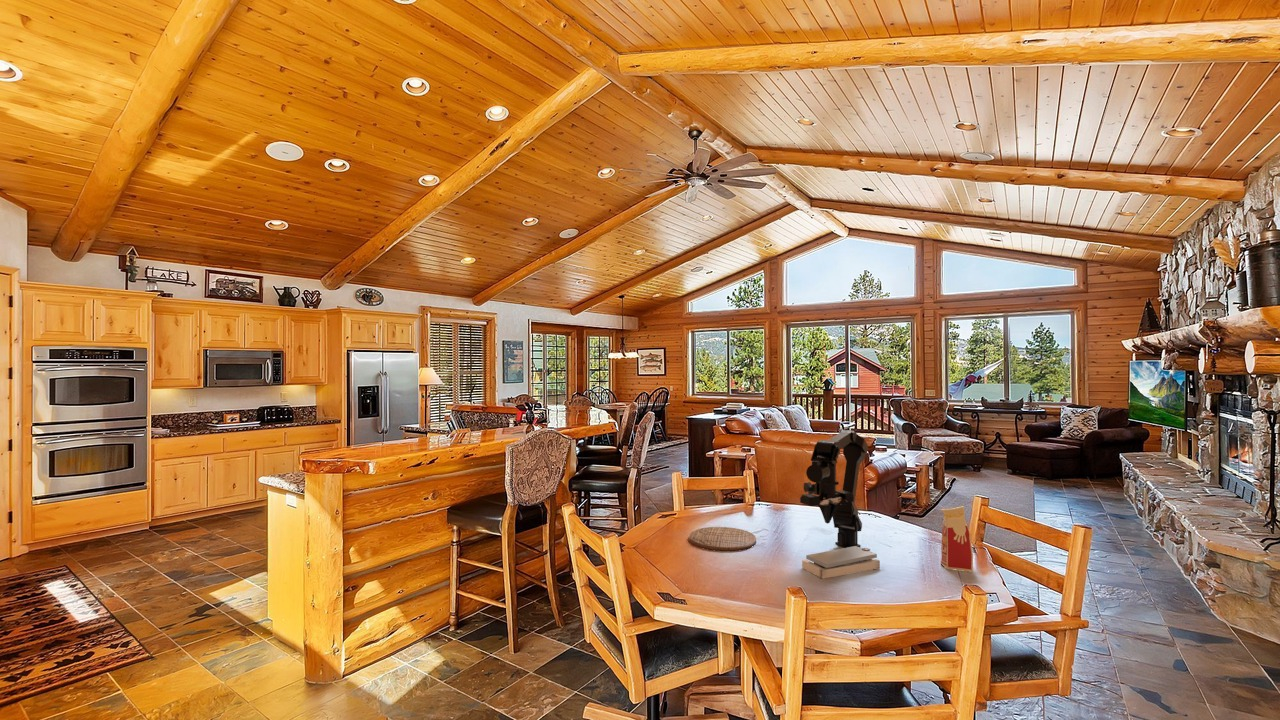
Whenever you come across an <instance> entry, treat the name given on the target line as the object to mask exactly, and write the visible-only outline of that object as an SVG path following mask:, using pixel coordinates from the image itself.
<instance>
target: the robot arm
mask: <svg viewBox="0 0 1280 720" xmlns="http://www.w3.org/2000/svg"><path fill="white" fill-rule="evenodd" d="M813 447H814V448H813V451H812V454H811V458H810V461H811V465H809V466H808V467H807V469H806V471H805V472H806V473H805V474H806V477H807V479H808V480H809V482H803V491H804V492H805V493H804V494H801V496H800V498H799V503H801V504H803V505H806V506H809V507H817V506H818V507H819V509H820V511H821V514H822V517H823V520H824V522H825V523H826V524H827V525H828V524H830V523H831V520H832V522H833V528H835V529H836V528H837V531H838V532H837V541H836V542H834V544H835V545H838V546H839V547H842V548H847V547H853V546H857V547H860V546H861V547H862V545H861V544H859V543H858V541H859V540H858V536H859V535H858V533H859V532H862V528H863V522H862V520H861V518H860V516H859V509H858V508H857V505H856V496H857V487H858V480H859V474H860V473H859V472H860V465H861V464H862V462H863V461H864V460H865V459H866V456H867V453H868V451H869V445H868V442H867V441H866V440H865V438H863V437H862V436H860V435H859V434H858V433H857V432H856V431H854V430H852V429H849V430H848V429H842V430H840V432H839V433H838V434H835V435H834V436H833V437H831V438H829V439H821V440H818V441H817V442H816V443H815V445H814V446H813ZM841 449H842V453H843V457H844V459H845V461H846V462H845V463H846V464H845V470H844V478H843V485H842V490H837V486H839V483H840V482H839V481H838V480H837V464H838V459H839V457H840V454H841ZM811 482H812V483H811ZM861 547H860V548H861Z"/></svg>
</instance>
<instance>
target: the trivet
mask: <svg viewBox="0 0 1280 720" xmlns="http://www.w3.org/2000/svg"><path fill="white" fill-rule="evenodd" d="M688 537H689V540H688V541H689V542H690V543H692V544H691V545H693V546H695V547H697V548H700V549H702V548H704V549H703V550H707V549H708V551H713V550H715V551H714V552H727V551H730V552H739V550H741V551H746V550H748V548H749V549H752V548H753V547H755V546H756V544H757V538H756V535H755V534H753V533H752V532H750V531H748V530H745V529H741V528H736V527H729V526H728V527H727V526H708V527H703V528H698V529H695V530H692V531H691V532H690V533H689V536H688ZM754 545H755V546H754ZM752 546H753V547H752ZM751 547H752V548H751ZM745 549H746V550H745Z"/></svg>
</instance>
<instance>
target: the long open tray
mask: <svg viewBox="0 0 1280 720" xmlns="http://www.w3.org/2000/svg"><path fill="white" fill-rule="evenodd" d="M880 561H881V560H879V559H877V558H873V559H868V560H863V561H860V562H859V561H858V562H853V563H848V564H844V565H838V566H833V567H828V568H822V567H820V566H818V565H816V564H814V562H812V561H810V560H808V559H806V558H805V559H801V567H802V569H804V570H805V571H807V572H809V573H811V574H812V575H815V576H817V577H818V578H821V579H822V580H823V579H828V578H835V577H840V576H845V575H851V574H856V573H857V572H858V573H862V572H861V571H863V572H868V571H867V570H869V571H874V570H873V569H875V570H879V568H881V562H880Z"/></svg>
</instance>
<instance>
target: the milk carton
mask: <svg viewBox="0 0 1280 720" xmlns="http://www.w3.org/2000/svg"><path fill="white" fill-rule="evenodd" d="M940 511H941V512H942V514H943V520H942V521H943V522H942V527H941V528H942V530H941V548H940V550H941V551H940V552H941V560H940V565H941V564H942V565H943V566H944V567H943V566H942V565H941V566H942V567H943V568H945V567H946V568H947V569H946V568H945V569H946V570H950V569H956V570H955V571H960V570H964V571H963V572H967V571H971V572H970V573H973V572H974V553H973V544H972V537H971V533H970V529H969V526H968V524H967V520H966V516H965V505H963V506H958V507H954V508H943V509H940Z"/></svg>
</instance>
